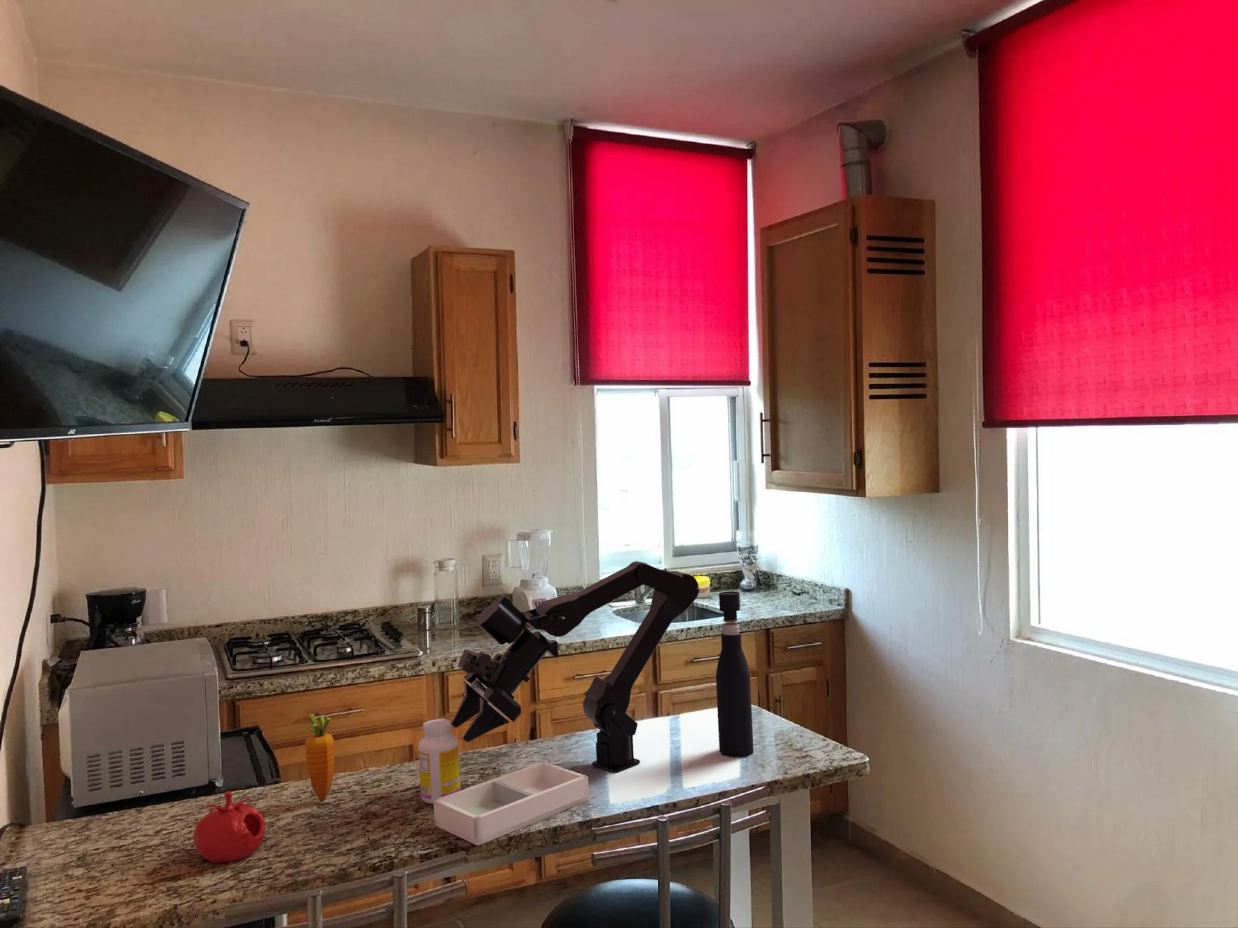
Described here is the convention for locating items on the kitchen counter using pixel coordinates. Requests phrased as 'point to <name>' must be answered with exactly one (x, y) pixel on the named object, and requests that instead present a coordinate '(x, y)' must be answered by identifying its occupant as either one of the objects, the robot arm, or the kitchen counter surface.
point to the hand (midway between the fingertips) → (459, 732)
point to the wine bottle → (733, 685)
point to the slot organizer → (510, 802)
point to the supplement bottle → (438, 761)
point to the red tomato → (229, 831)
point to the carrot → (320, 757)
